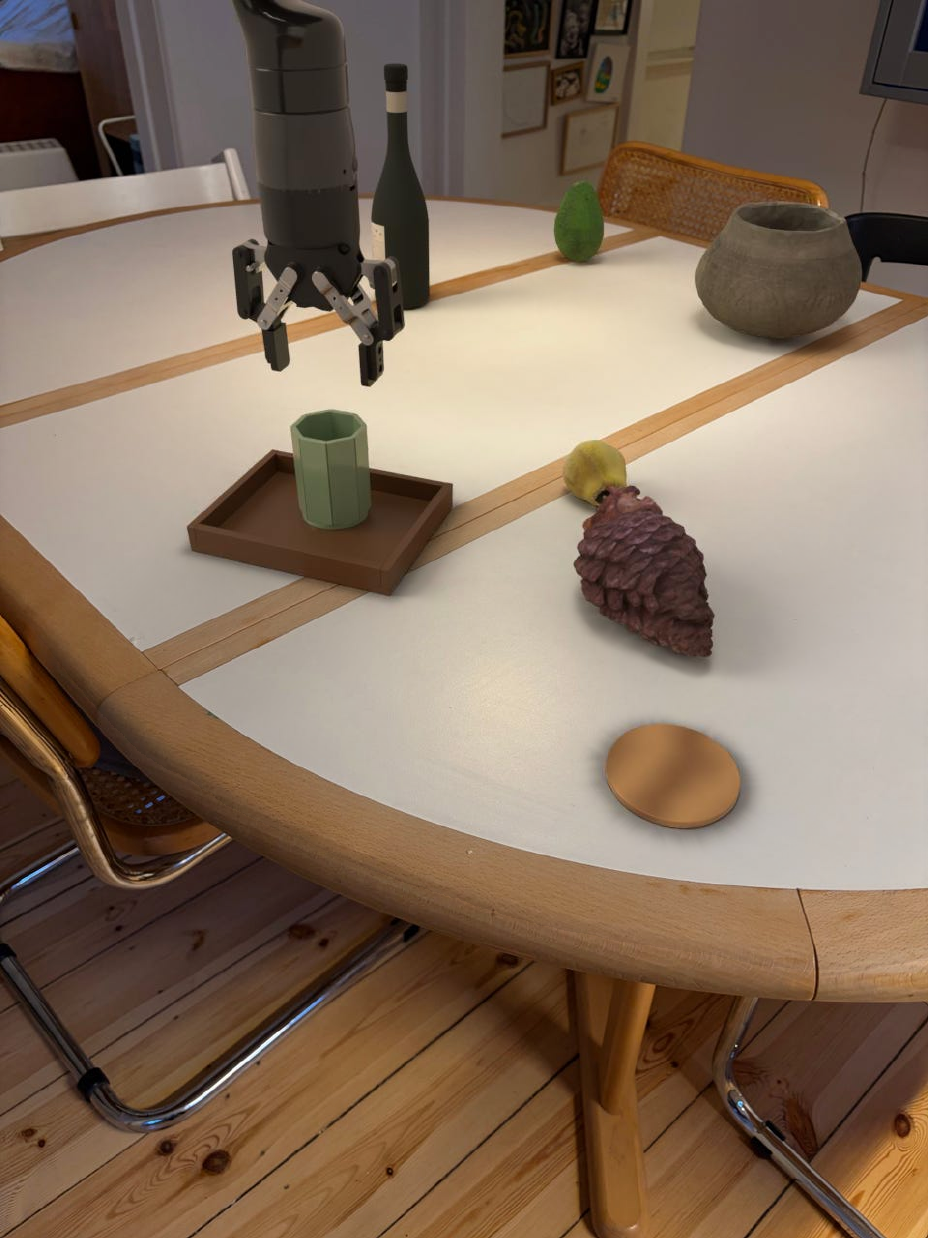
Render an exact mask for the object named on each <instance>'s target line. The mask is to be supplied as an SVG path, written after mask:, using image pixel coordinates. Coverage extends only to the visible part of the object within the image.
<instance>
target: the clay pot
mask: <svg viewBox="0 0 928 1238" xmlns="http://www.w3.org/2000/svg"><path fill="white" fill-rule="evenodd" d="M862 280H863V268H862V262H861V259H860V256H859V254H858V252H857V249H856V247H855V245H854V243H853V240H852V237H851V234H850V230H849V226H848V223H847V219H846V217H844V216H842V215H841V214H839V213H837V212H836V211H833V210H831V208H828V207H826V206H821V205H817V204H812V203H807V202H800V201H799V202H798V201H786V200H781V201H778V200H777V201H776V200H769V201H768V200H767V201H755V202H748V203H743V204H740V205H737V206H736V207H735V208H734V209H733V210H732V213H731V215H730V216H729V218H728V220H727V222H726V224H725V225H724V227H723V229H722V230H721V231H720V232H719V234H718V235H717V236H716V237H715V238H714V240H713V241H712V242H711V243H710V244H709V245H708V247H707V248H706V249H705V250H704V252H703V253H702V256H701V257H700V258H699V261H698V262H697V265H696V268H695V272H694V284H695V290H696V293H697V297H698V298H699V300H700V302H701V305H703V307H704V308H705V309H706V310H707V311H706V312H708V314H709V315H711V317H712V318H714V319H715V320H716V321H718V322H720V323H721V324H723V325H725V326H726V327H728V328H731V329H733V330H735V331H738V332H740V333H745V334H747V335H752V336H757V337H762V338H771V339H773V338H779V339H781V338H782V339H783V338H795V337H800V336H806V335H809V334H812V333H815V332H818V331H821V330H823V329H825V328H828V327H830V326H831V325H833V324H834V323H836V322H837V321H839V320H840V319H841V318H842V317H843V316H844V315H845V314H846V313H847V312H848V310H849V309H850V308H851V307H852V306H853V305H854V303H855V301H856V299H857V297H858V294H859V292H860V289H861V286H862Z"/></svg>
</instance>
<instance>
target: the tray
mask: <svg viewBox="0 0 928 1238" xmlns="http://www.w3.org/2000/svg"><path fill="white" fill-rule="evenodd" d="M369 472H370V489H371V507H370V508H369V514H368V516H367V518H366V519H365V520H364V521H362V522H361V523H359V524H357V525H355V526H353V527H349V528H345V529H339V530H327V529H321V528H317V527H314V526H312V525H310V524H308V523H307V522H306V521H305V520H304V519H303V516H302V511H301V509H300V508H299V502H298V493H297V484H296V475H295V467H294V458H293V452H288V451H283V450H278V449H274V448H272V449H270V450H269V451H268V452H267V453H266V454H265V455H264V456H263V457H262V458H260V460H259V461H257V462H256V463H255V464H254V465H252V467H251V468H249V470H248V471H246V472H245V473H243V475H242V476H241V477H240V478H239V479H237V480H236V481H235V482H234V483H232V485H230V486H229V488H227V489H226V490H225V491H224V492H223V493H222V494H221V495H219V496H218V497H217V498H216V499H215V500H214V501H212V503H211V504H210V505H208V506H207V507H206V508H205V509H204V510H202V512H201V513H199V514H198V516H196V517H195V518H194V519H193V520H192V521H190V523H189V524H188V525H186V530H187V536H188V540H189V545H190V550H191V551H193V552H197V553H202V554H206V555H210V556H214V557H219V558H224V559H228V560H232V561H237V562H241V563H246V564H249V565H255V566H258V567H263V568H268V569H272V570H277V571H281V572H285V573H289V574H294V575H298V576H303V577H307V578H311V579H316V580H319V581H325V582H327V583H332V584H337V585H341V586H347V587H351V588H355V589H360V590H364V591H368V592H371V593H377V594H381V595H384V596H385V595H386V596H391V595H392V593H393V592H394V590H395V589H396V588H397V586H398V585H399V583H400V582H401V581H402V579H403V578H404V576H405V575H406V573H407V572H408V571H409V569H410V568H411V567H412V565H413V564H414V562H415V561H416V559H417V558H418V557H419V555H420V554H421V552H422V551H423V549H424V548H425V546H426V545H427V544H428V542H429V541H430V539H431V538H432V537H433V535H434V534H435V532H436V531H437V529H438V528H439V527H440V526H441V524H442V522H443V521H444V520H445V518H446V517H447V516H448V515H449V513H450V511H451V510H452V509H453V507H454V483H452V482H447V481H446V482H445V481H440V480H435V479H430V478H425V477H419V476H414V475H410V474H409V475H408V474H403V473H398V472H393V471H387V470H382V469H377V468H372V467H369Z"/></svg>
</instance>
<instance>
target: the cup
mask: <svg viewBox="0 0 928 1238" xmlns="http://www.w3.org/2000/svg"><path fill="white" fill-rule="evenodd" d="M289 431H290V439H291V448H292V453H293V458H294V467H295V475H296V484H297V493H298V502H299V508H300V509H301V511H302V516H303V519H304V520H305V521H306V522H307V523H308V524H310V525H312V526H314V527H317V528H321V529H327V530H339V529H345V528H349V527H353V526H355V525H357V524H359V523H361V522H362V521H364V520H365V519H366V518H367V516H368V514H369V508H370V507H371V489H370V472H369V468H370V458H369V457H370V455H369V444H368V443H369V441H368V440H369V439H368V437H369V436H368V425H367V423H366V422H365V420H363V418H361V416H360V415H359V414H358V413H355V412H349V411H344V410H338V409H333V408H331V409H330V408H329V409H324V410H318V411H313V412H308V413H307V412H306V413H304V414H302V415H300V417H298V418H297V419H296V420H295V421H294V422H293V423H292V424H291V425H289Z"/></svg>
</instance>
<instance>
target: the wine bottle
mask: <svg viewBox="0 0 928 1238" xmlns="http://www.w3.org/2000/svg"><path fill="white" fill-rule="evenodd" d="M408 69H409V68H408V66H407V64H404V63H386V64H384V66H383V80H384V83H385V84H384V85H385V102H386V105H385V106H386V126H387V127H386V129H387V142H386V143H387V145H386V153H385V157H384V162H383V165H382V169H381V173H380V176H379V178H378V182H377V185H376V187H375V190H374V191H375V192H374V195H373V200H372V205H371V216H370V217H371V218H370V224H371V243H372V244H371V245H372V246H371V247H372V260H385V259H387V258H388V257H390V256H393V257H395V258H396V259H397V260H398V261H399V265H400V276H401V287H402V298H403V309H404V310H406V309H407V310H409V309H414V308H417V307H420V306H422V305H424V304H425V303H426V302H427V301H428V300H429V298H430V296H431V295H430V294H431V292H430V288H431V286H430V284H431V282H430V278H431V277H430V219H429V211H428V206H427V201H426V197H425V195H424V191H423V189H422V186H421V183H420V180H419V177H418V175H417V171H416V169H415V166H414V163H413V161H412V157H411V152H410V148H409V146H410V145H409V137H408V80H409V74H408V73H409V71H408ZM374 297H375V299H376V295H375V294H374Z"/></svg>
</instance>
